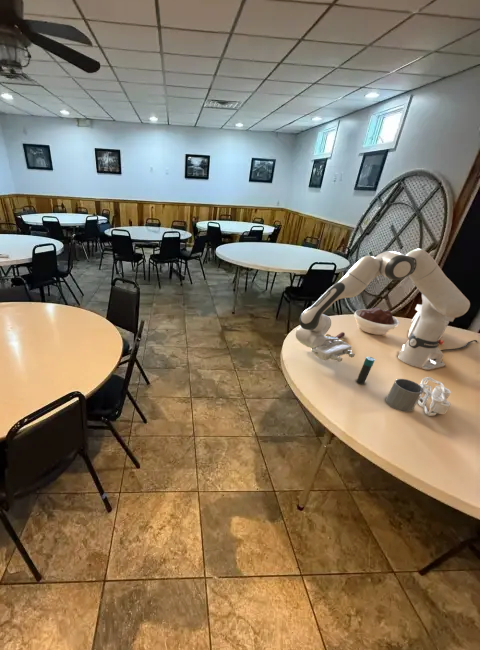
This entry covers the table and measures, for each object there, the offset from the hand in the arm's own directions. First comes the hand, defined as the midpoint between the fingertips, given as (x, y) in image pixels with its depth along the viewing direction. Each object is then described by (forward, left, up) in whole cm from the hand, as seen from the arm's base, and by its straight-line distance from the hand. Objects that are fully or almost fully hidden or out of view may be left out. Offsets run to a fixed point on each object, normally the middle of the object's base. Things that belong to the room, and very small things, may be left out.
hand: (347, 358), depth 147 cm
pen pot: (-9, +26, -8) cm, 29 cm away
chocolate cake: (-50, -44, -8) cm, 67 cm away
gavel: (-19, -33, -8) cm, 39 cm away
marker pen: (-3, +9, -8) cm, 12 cm away
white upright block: (-82, -37, -8) cm, 91 cm away
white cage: (-23, +27, -8) cm, 37 cm away
